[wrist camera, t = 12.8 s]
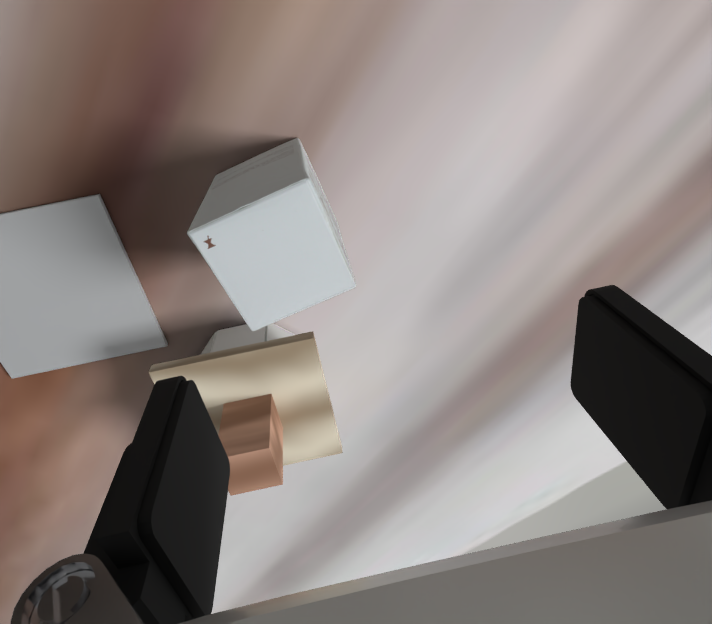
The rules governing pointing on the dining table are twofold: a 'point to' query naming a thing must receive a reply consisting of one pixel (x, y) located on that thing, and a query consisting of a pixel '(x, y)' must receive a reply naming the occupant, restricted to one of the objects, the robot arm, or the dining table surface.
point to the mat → (68, 290)
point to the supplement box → (272, 236)
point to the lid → (263, 406)
